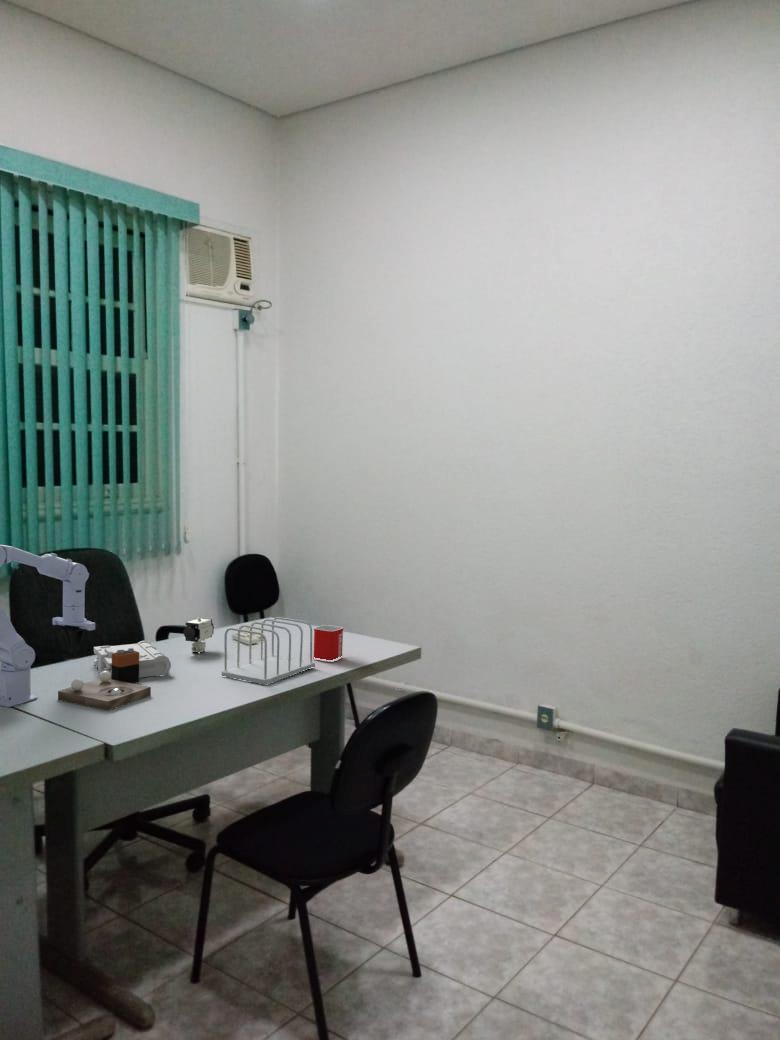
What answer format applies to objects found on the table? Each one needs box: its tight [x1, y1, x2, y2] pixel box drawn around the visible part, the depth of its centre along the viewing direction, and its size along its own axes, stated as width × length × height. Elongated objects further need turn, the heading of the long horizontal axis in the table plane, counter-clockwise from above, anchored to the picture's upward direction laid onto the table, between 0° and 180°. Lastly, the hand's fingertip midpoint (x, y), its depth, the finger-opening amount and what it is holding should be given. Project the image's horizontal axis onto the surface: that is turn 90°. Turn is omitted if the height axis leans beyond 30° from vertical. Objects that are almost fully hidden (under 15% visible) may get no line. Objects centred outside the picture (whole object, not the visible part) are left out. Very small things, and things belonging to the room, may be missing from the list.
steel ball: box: [111, 689, 122, 694], centre depth 225 cm, size 3×3×3 cm
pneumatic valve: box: [183, 616, 215, 653], centre depth 281 cm, size 6×12×12 cm, turn 160°
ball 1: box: [70, 678, 85, 691], centre depth 225 cm, size 3×3×3 cm
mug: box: [313, 624, 344, 660], centre depth 280 cm, size 12×8×11 cm
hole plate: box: [57, 678, 152, 712], centre depth 227 cm, size 16×18×2 cm
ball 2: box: [98, 671, 111, 682], centre depth 234 cm, size 3×3×3 cm
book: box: [93, 640, 172, 679], centre depth 259 cm, size 19×28×8 cm
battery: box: [112, 648, 140, 684], centre depth 242 cm, size 4×7×10 cm, turn 141°
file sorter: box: [221, 616, 316, 686], centre depth 259 cm, size 25×17×16 cm
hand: (73, 652), depth 234 cm, fingers closed
